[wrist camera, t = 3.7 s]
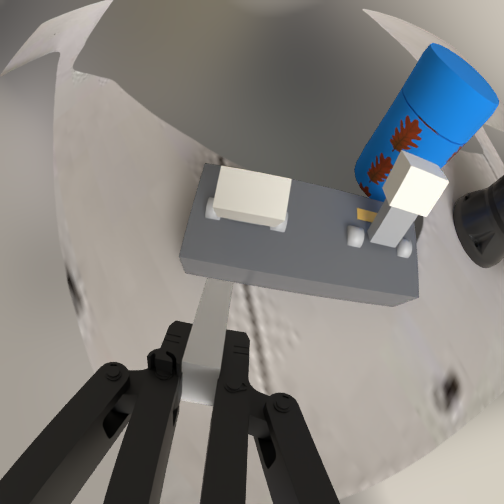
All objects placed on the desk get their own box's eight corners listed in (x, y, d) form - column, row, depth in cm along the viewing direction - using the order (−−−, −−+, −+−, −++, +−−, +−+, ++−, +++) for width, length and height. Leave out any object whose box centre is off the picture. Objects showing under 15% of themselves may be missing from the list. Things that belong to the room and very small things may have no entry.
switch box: (391, 229, 40) (417, 207, 33) (393, 306, 35) (424, 295, 29) (206, 189, 38) (204, 156, 31) (185, 273, 34) (177, 252, 27)
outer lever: (272, 205, 30) (291, 179, 19) (267, 232, 30) (284, 220, 19) (226, 196, 30) (221, 165, 19) (220, 223, 30) (212, 207, 19)
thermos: (340, 167, 42) (414, 40, 19) (377, 147, 46) (445, 43, 22) (385, 219, 40) (492, 112, 17) (417, 192, 43) (505, 100, 20)
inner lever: (395, 234, 32) (438, 165, 24) (400, 252, 30) (449, 181, 22) (361, 226, 32) (401, 149, 24) (365, 244, 30) (411, 165, 22)
